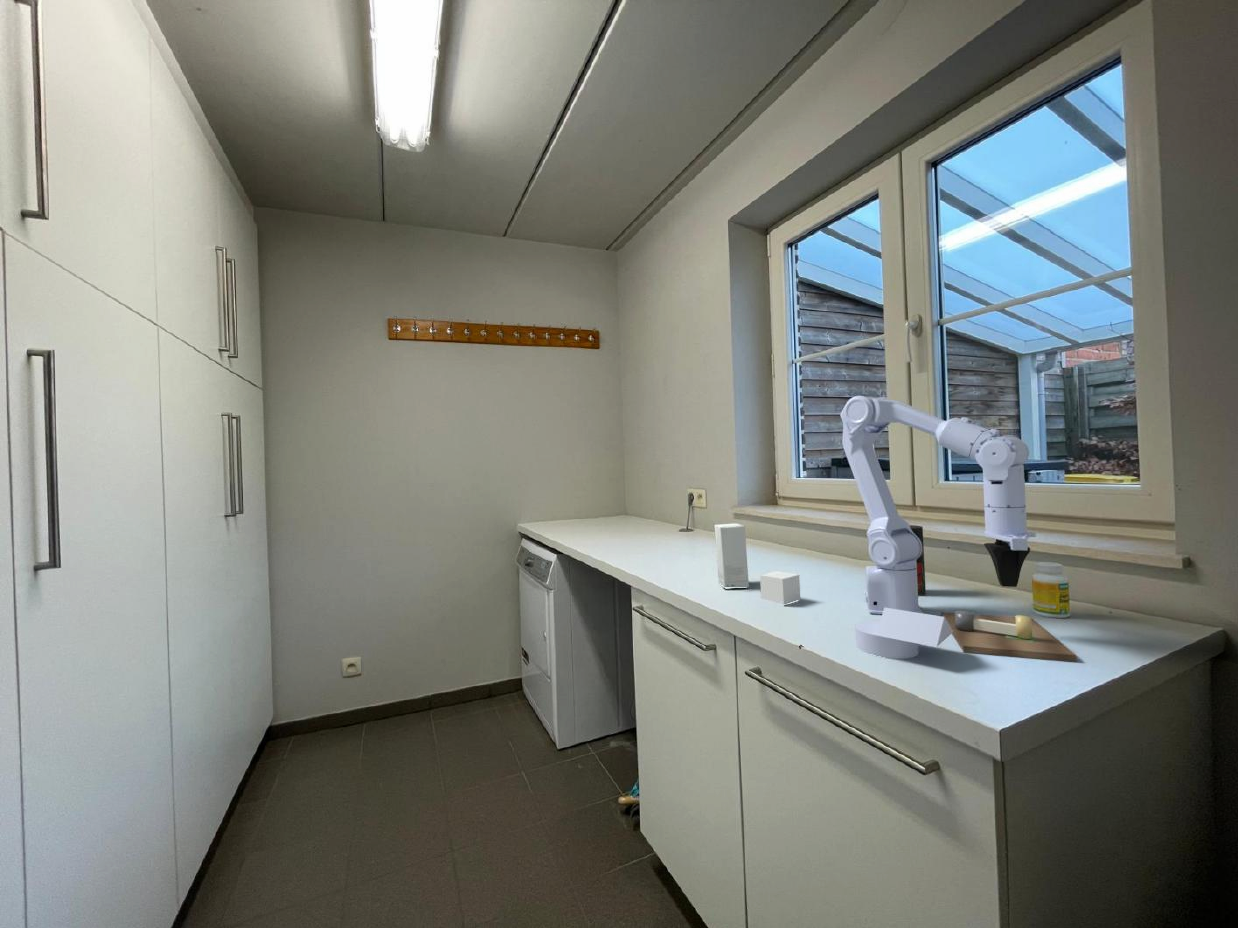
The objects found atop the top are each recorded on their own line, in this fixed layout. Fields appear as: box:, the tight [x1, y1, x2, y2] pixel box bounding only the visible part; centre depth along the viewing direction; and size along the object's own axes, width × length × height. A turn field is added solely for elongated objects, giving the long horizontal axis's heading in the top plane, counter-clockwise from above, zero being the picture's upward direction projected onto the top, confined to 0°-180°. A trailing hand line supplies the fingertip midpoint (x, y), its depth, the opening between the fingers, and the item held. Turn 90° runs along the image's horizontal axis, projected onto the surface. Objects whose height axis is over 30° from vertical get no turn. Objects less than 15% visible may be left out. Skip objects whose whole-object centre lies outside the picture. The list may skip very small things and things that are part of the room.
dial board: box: [940, 611, 1078, 663], centre depth 87 cm, size 14×19×1 cm
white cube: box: [759, 570, 801, 605], centre depth 115 cm, size 6×6×6 cm
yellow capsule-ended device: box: [954, 610, 1032, 639], centre depth 86 cm, size 10×3×3 cm, turn 46°
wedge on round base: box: [855, 608, 953, 660], centre depth 82 cm, size 9×7×13 cm
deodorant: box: [909, 524, 927, 597], centre depth 117 cm, size 6×6×15 cm
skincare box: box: [714, 523, 750, 588], centre depth 131 cm, size 8×7×16 cm
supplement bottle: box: [1031, 561, 1071, 619], centre depth 97 cm, size 5×5×10 cm
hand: (1008, 585), depth 88 cm, fingers closed
